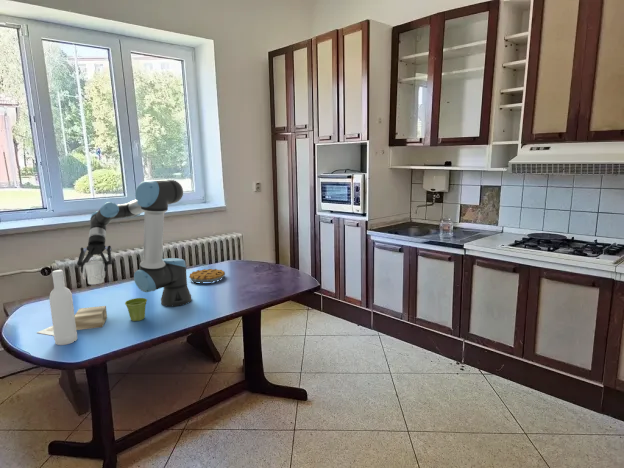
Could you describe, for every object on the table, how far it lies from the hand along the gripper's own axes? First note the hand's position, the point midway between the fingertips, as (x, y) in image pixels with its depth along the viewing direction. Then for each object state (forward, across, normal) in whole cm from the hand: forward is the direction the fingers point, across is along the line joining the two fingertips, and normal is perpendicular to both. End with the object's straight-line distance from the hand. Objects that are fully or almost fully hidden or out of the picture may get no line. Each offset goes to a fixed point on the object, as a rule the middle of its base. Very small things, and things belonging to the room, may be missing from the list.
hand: (93, 277), depth 188 cm
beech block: (+22, 0, -3) cm, 23 cm away
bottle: (+34, +6, +8) cm, 36 cm away
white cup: (0, 0, -5) cm, 5 cm away
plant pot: (+23, -19, -3) cm, 30 cm away
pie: (-15, -54, -42) cm, 70 cm away
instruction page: (+25, +13, -1) cm, 28 cm away
